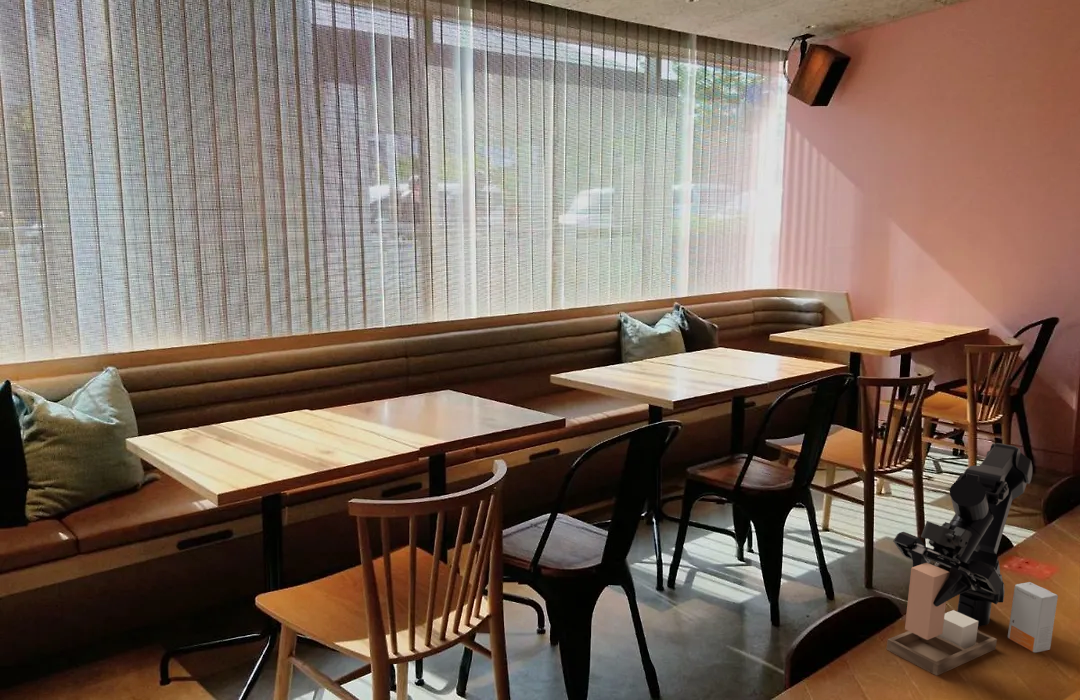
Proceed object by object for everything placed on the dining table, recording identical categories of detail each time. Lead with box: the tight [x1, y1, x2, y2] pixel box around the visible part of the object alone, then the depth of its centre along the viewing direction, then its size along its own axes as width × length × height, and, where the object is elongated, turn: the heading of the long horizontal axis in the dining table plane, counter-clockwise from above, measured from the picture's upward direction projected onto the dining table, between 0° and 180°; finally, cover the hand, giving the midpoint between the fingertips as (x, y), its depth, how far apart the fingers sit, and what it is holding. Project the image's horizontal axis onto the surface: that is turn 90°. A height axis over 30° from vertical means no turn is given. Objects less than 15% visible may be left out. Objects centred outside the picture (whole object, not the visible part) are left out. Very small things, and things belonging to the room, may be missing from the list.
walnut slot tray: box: [886, 629, 998, 677], centre depth 155 cm, size 18×10×3 cm, turn 122°
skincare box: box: [1007, 581, 1059, 653], centre depth 157 cm, size 6×4×12 cm
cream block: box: [938, 609, 979, 649], centre depth 157 cm, size 5×5×5 cm
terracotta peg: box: [904, 563, 950, 640], centre depth 151 cm, size 4×4×12 cm
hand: (922, 599), depth 150 cm, fingers closed on terracotta peg, 4 cm apart
